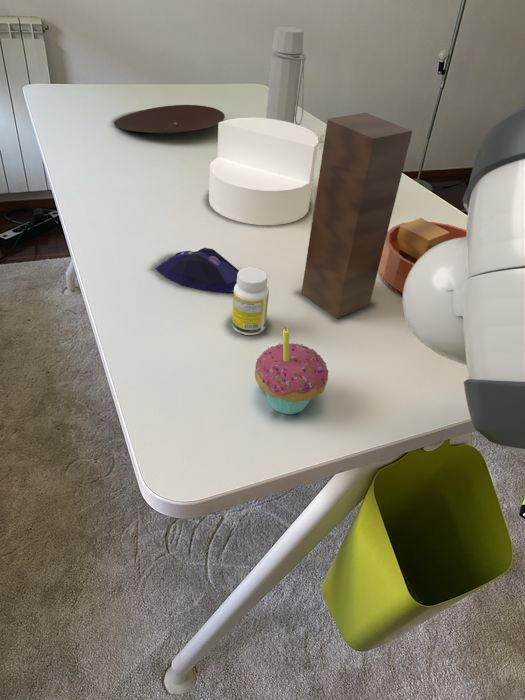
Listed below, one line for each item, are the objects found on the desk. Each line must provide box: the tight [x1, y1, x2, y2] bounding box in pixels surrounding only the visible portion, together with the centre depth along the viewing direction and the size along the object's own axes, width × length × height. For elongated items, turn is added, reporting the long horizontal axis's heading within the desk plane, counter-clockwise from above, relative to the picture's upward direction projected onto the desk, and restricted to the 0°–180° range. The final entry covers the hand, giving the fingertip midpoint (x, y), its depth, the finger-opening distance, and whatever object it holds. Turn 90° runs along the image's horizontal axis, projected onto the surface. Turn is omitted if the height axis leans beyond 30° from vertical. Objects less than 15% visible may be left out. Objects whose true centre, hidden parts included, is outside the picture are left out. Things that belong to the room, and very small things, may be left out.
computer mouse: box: [155, 247, 240, 294], centre depth 86 cm, size 9×15×4 cm, turn 64°
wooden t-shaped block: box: [395, 217, 450, 259], centre depth 88 cm, size 15×6×4 cm, turn 39°
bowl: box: [378, 221, 467, 294], centre depth 90 cm, size 18×18×6 cm
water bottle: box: [265, 26, 307, 126], centre depth 132 cm, size 9×8×25 cm
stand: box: [301, 112, 413, 320], centre depth 76 cm, size 8×7×26 cm
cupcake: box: [254, 324, 329, 415], centre depth 63 cm, size 9×8×12 cm
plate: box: [113, 104, 226, 135], centre depth 140 cm, size 28×28×4 cm
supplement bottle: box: [231, 266, 270, 336], centre depth 75 cm, size 5×5×8 cm
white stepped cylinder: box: [208, 117, 319, 226], centre depth 106 cm, size 20×20×13 cm
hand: (488, 192), depth 79 cm, fingers open, 8 cm apart
